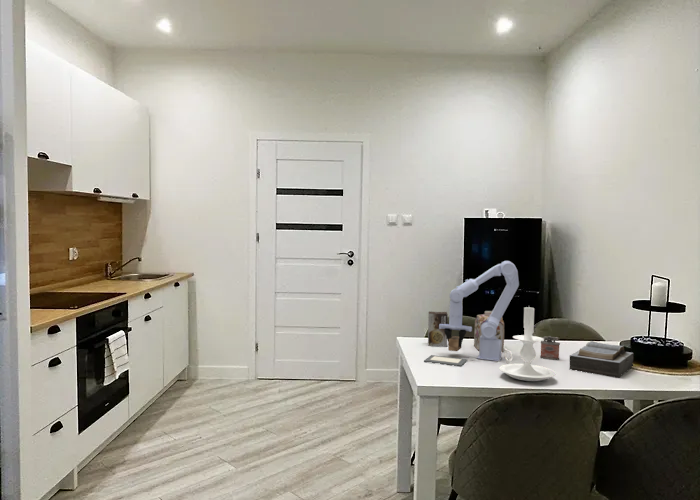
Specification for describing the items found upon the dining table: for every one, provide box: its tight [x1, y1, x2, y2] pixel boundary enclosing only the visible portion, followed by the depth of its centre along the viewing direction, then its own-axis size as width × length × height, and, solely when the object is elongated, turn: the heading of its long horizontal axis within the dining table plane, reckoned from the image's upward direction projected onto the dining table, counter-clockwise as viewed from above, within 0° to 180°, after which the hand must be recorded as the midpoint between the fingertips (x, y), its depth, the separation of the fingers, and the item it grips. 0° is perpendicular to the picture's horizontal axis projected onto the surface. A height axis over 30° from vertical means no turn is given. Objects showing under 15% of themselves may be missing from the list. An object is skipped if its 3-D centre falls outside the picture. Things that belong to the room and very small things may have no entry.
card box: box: [447, 335, 462, 352], centre depth 243 cm, size 4×8×5 cm, turn 156°
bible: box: [569, 340, 634, 379], centre depth 226 cm, size 23×27×10 cm
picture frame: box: [423, 354, 468, 368], centre depth 232 cm, size 16×12×1 cm
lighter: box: [539, 335, 561, 361], centre depth 241 cm, size 8×3×10 cm, turn 62°
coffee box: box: [427, 311, 449, 347], centre depth 265 cm, size 9×6×16 cm
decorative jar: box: [473, 310, 505, 353], centre depth 259 cm, size 12×12×18 cm
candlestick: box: [499, 306, 557, 382], centre depth 209 cm, size 21×25×28 cm
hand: (454, 345), depth 243 cm, fingers closed on card box, 4 cm apart
